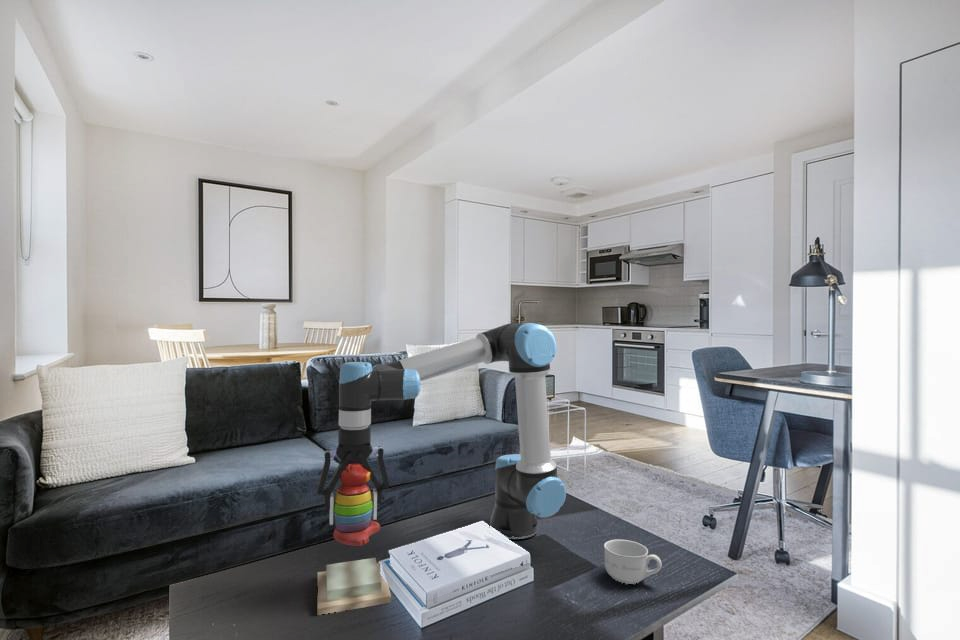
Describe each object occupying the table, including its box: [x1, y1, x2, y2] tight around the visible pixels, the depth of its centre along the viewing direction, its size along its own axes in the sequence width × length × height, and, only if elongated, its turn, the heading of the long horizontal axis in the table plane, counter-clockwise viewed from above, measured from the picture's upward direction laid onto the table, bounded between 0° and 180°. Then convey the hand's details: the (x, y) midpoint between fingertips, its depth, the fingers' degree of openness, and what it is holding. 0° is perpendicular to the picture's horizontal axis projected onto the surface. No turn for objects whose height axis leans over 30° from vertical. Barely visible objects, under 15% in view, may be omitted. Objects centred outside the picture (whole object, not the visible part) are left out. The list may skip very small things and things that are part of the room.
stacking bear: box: [332, 463, 381, 547], centre depth 114 cm, size 11×10×18 cm
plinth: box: [316, 557, 392, 617], centre depth 114 cm, size 16×16×4 cm
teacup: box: [603, 538, 663, 585], centre depth 119 cm, size 14×11×8 cm
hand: (353, 519), depth 114 cm, fingers closed on stacking bear, 9 cm apart
